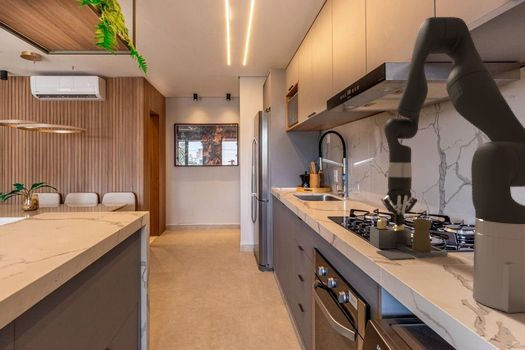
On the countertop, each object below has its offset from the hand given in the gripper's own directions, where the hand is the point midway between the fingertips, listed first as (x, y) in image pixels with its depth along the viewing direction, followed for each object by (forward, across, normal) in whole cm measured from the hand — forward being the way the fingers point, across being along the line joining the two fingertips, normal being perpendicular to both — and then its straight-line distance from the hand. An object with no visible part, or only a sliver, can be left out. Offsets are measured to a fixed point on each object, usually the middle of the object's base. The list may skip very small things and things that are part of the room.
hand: (398, 224), depth 107 cm
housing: (+7, -1, -6) cm, 9 cm away
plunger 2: (+5, 0, 0) cm, 5 cm away
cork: (+8, +2, -9) cm, 12 cm away
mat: (+7, -8, -11) cm, 15 cm away
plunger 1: (+3, -6, 0) cm, 7 cm away
